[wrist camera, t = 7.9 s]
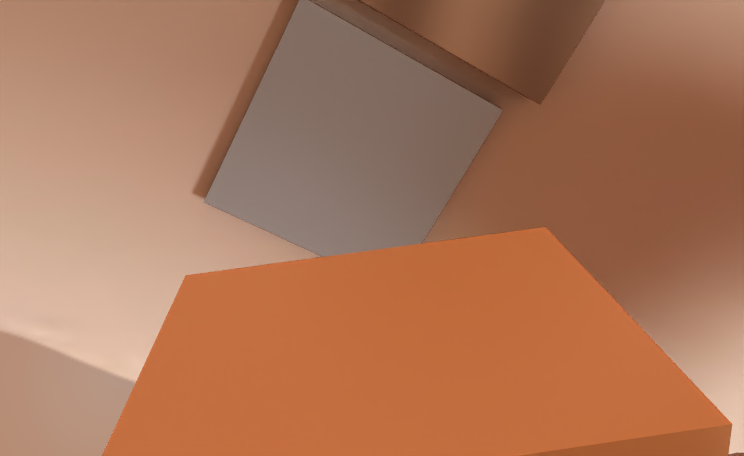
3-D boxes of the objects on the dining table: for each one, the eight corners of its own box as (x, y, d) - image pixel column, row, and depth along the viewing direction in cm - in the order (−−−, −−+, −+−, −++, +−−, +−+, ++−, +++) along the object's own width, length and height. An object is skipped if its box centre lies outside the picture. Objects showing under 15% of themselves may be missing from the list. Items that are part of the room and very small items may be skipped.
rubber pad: (499, 107, 28) (503, 110, 28) (392, 284, 31) (394, 289, 30) (301, -5, 26) (301, -4, 25) (206, 198, 29) (203, 202, 28)
